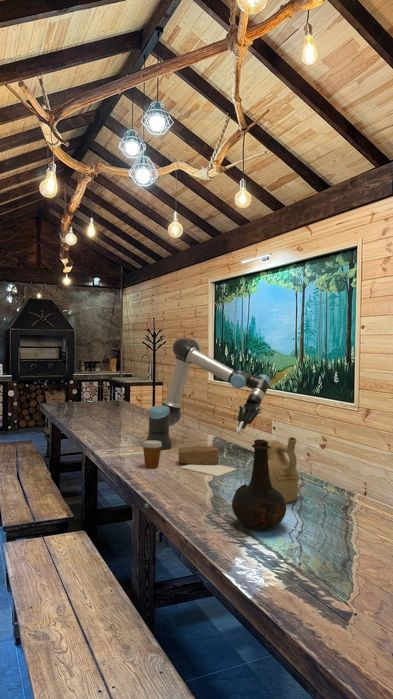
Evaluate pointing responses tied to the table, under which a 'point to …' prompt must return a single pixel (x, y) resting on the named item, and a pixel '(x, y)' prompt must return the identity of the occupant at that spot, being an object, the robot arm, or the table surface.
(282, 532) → the table surface
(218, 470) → the mat
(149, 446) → the disposable coffee cup
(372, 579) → the table surface
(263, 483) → the glass bottle
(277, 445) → the ceramic vessel
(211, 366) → the robot arm
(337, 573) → the table surface
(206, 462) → the block
